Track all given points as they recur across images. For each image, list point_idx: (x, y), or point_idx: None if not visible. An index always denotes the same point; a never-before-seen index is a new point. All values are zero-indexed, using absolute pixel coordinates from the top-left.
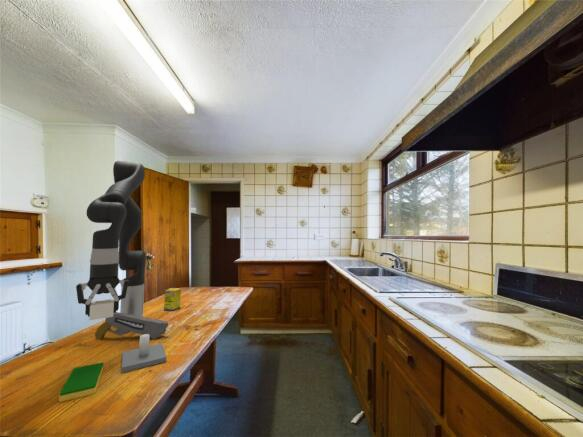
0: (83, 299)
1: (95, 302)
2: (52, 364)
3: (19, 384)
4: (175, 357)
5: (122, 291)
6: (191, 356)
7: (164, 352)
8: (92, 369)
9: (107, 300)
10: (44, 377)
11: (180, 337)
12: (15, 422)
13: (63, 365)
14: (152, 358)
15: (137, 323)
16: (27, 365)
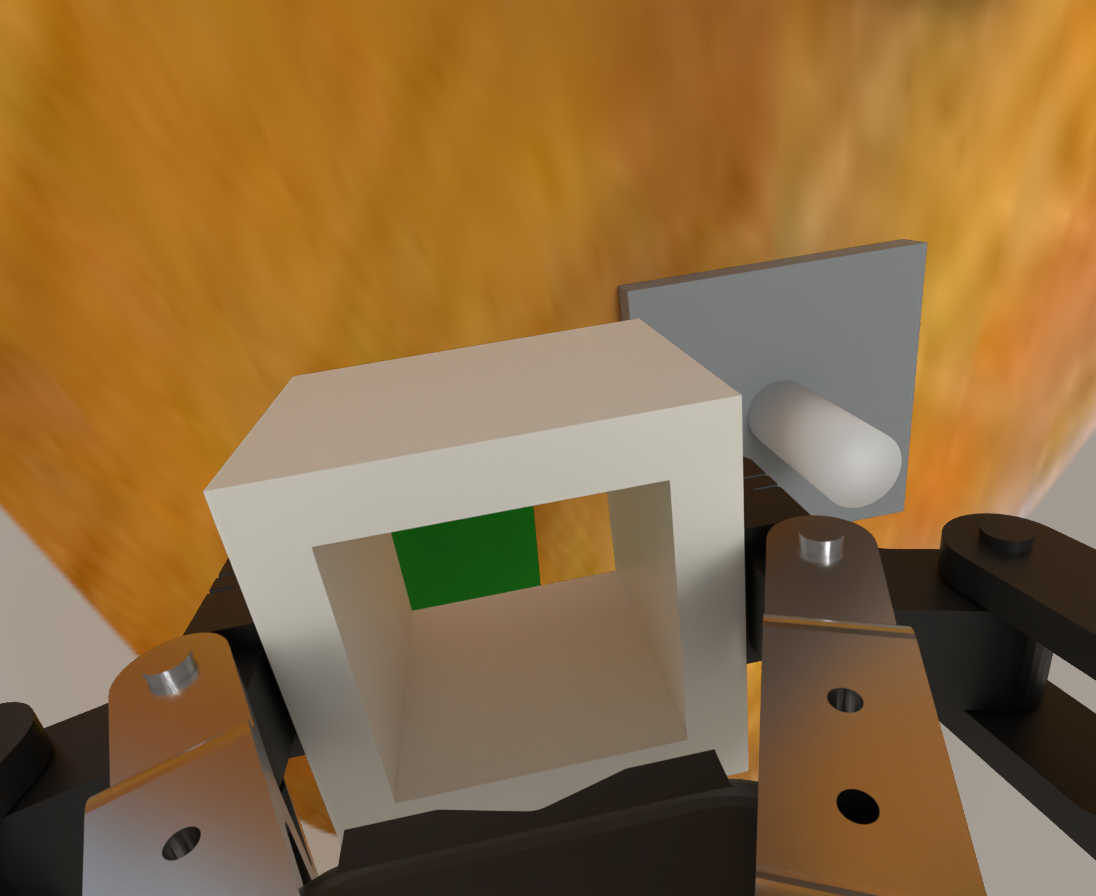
0: (71, 887)
1: (318, 538)
2: (81, 204)
3: (50, 474)
4: (944, 456)
5: (1083, 847)
6: (1028, 479)
7: (907, 435)
8: (486, 552)
9: (583, 492)
10: (167, 431)
11: (1092, 43)
12: (299, 794)
13: (198, 269)
14: (824, 500)
15: None
16: None
